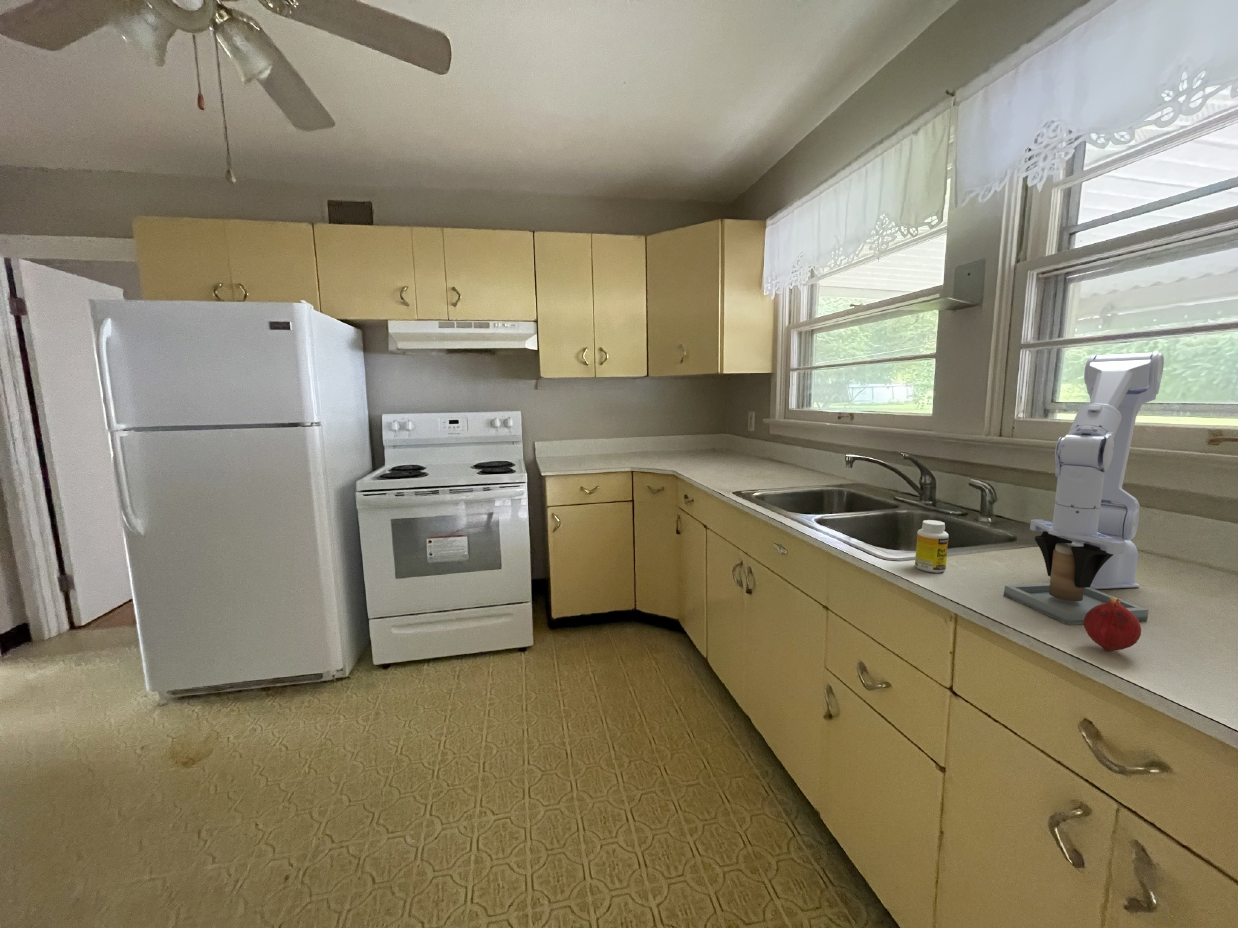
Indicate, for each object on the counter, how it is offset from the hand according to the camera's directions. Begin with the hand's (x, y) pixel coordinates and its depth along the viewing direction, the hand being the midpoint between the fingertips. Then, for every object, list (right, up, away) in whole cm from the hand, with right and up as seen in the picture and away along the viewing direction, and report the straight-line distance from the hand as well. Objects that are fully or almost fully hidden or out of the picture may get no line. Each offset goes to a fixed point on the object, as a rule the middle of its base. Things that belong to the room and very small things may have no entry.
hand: (1068, 581), depth 86 cm
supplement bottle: (-12, -2, +19) cm, 22 cm away
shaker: (0, -3, 0) cm, 3 cm away
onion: (-8, -7, -15) cm, 18 cm away
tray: (0, -4, 0) cm, 4 cm away
